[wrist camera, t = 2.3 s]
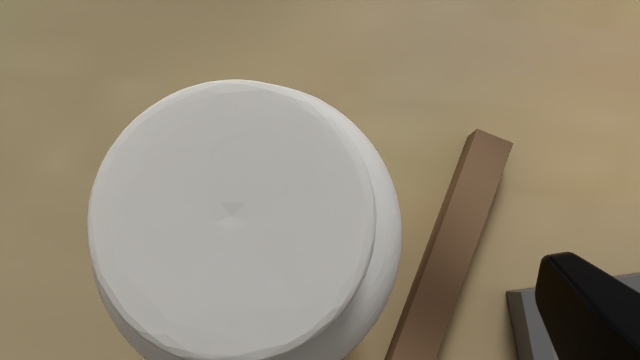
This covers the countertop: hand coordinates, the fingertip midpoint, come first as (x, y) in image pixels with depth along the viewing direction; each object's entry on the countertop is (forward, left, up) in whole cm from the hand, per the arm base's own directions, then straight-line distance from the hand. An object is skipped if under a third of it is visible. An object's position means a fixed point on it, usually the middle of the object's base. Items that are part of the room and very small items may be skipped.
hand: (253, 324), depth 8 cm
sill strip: (-1, -4, -9) cm, 10 cm away
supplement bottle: (+1, 0, -9) cm, 9 cm away
